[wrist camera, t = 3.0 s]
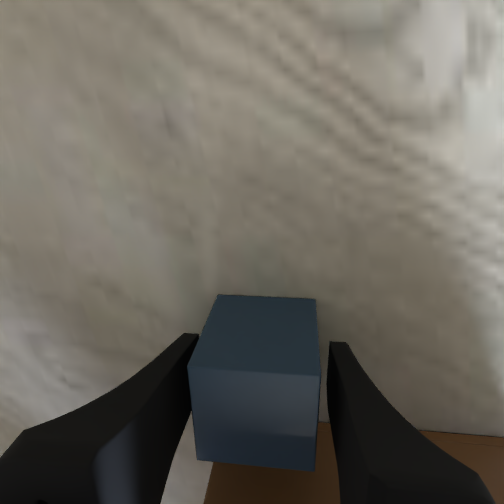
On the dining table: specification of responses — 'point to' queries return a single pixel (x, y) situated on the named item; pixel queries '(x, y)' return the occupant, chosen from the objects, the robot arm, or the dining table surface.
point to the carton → (326, 473)
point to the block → (257, 383)
